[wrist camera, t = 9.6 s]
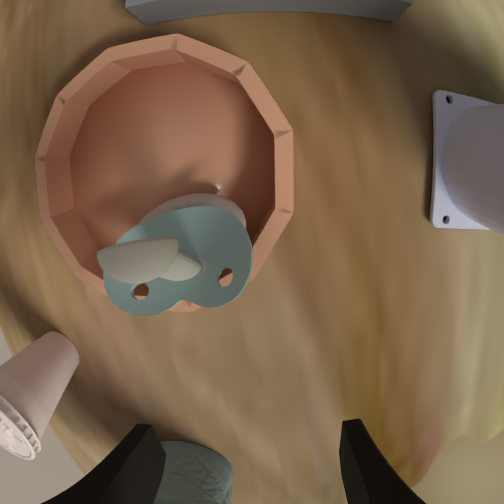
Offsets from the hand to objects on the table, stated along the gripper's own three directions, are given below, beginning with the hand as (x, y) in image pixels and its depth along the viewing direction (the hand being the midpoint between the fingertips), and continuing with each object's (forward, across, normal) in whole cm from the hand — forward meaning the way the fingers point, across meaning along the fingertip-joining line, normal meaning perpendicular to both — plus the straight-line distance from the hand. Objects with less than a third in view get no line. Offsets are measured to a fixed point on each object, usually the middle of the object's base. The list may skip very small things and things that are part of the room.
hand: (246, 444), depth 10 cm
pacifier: (+7, +3, -5) cm, 9 cm away
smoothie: (+10, +16, +2) cm, 19 cm away
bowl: (+9, +4, -9) cm, 14 cm away
